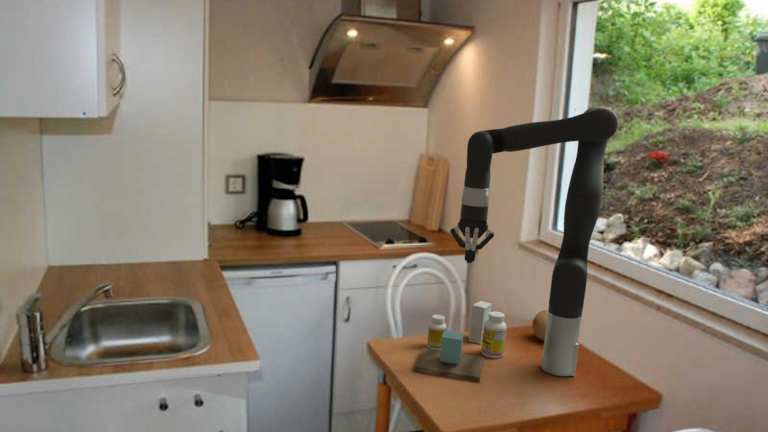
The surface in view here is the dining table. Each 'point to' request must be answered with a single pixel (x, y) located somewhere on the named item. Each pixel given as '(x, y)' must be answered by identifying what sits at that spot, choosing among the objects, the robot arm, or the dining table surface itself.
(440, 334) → the supplement bottle
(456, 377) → the post board
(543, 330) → the onion
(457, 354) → the aqua rectangular box
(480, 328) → the skincare box
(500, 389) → the dining table surface
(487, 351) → the supplement bottle
